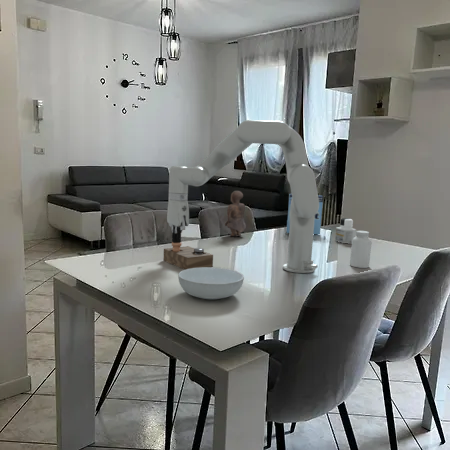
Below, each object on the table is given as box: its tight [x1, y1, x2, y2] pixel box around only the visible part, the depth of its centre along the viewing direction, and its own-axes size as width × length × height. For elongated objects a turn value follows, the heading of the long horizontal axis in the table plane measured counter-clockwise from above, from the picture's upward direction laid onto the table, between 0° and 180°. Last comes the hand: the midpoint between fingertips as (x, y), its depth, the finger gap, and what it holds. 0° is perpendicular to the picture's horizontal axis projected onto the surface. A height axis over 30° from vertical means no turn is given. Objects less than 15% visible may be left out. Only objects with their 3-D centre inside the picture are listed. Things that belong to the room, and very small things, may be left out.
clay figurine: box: [224, 190, 247, 237], centre depth 252 cm, size 13×10×25 cm
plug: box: [193, 247, 205, 255], centre depth 185 cm, size 4×4×5 cm
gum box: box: [286, 193, 324, 235], centre depth 272 cm, size 20×5×23 cm, turn 85°
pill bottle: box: [349, 230, 373, 269], centre depth 197 cm, size 8×8×15 cm
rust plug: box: [171, 241, 183, 252], centre depth 188 cm, size 4×4×5 cm
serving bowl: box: [177, 267, 245, 300], centre depth 147 cm, size 21×21×7 cm
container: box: [334, 217, 357, 244], centre depth 252 cm, size 8×8×13 cm
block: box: [162, 245, 214, 270], centre depth 187 cm, size 18×12×5 cm, turn 37°
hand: (176, 242), depth 187 cm, fingers closed
